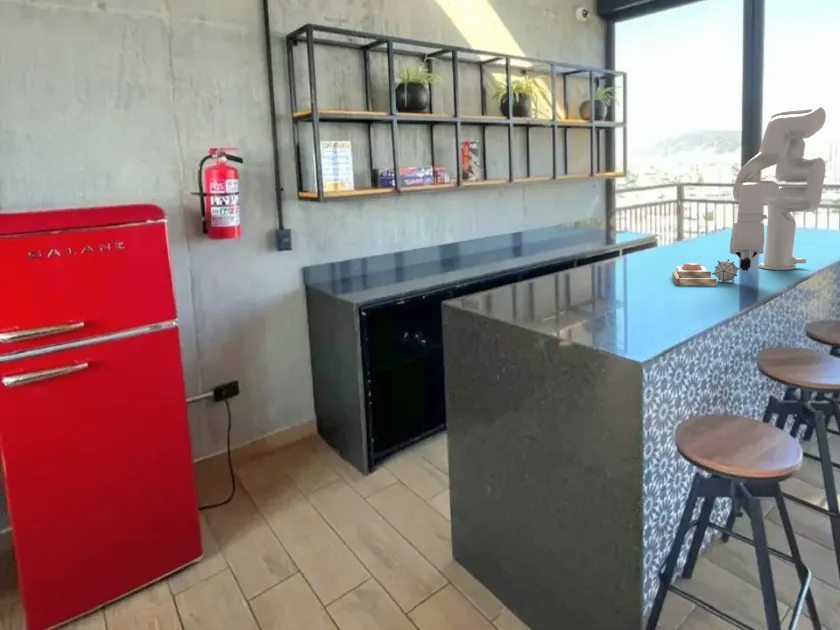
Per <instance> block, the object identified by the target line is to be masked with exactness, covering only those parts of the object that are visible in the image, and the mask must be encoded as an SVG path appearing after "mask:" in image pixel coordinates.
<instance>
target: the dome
mask: <svg viewBox="0 0 840 630" xmlns="http://www.w3.org/2000/svg"><path fill="white" fill-rule="evenodd" d="M682 266H683V270H700V266H701V264H700V263H697V262H684V263H683V265H682Z"/></svg>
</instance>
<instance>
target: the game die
mask: <svg viewBox="0 0 840 630" xmlns="http://www.w3.org/2000/svg"><path fill="white" fill-rule="evenodd" d="M734 263H735V261H732V262H731V261H730V259H727V260H726V261H720V260H717V266H714V268H715V269H714V272H711V276H712V275H714V276H715V277H716V278H717V281H718V280H719V281H721V282H722V284H725V282H728V281H731V282H733V283H734V282H735V280H734V279H735V278H736V277H738V274H737V273H738V271H739V270H740V269H741V268H740V267H737V266H736V265H735V264H734Z"/></svg>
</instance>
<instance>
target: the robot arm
mask: <svg viewBox="0 0 840 630" xmlns="http://www.w3.org/2000/svg"><path fill="white" fill-rule="evenodd" d="M826 115H827V114H826V111H825V109H824V108H823V107H822V106H810V107H809V106H807V107H798V108H797V107H795V108H787V109H781V110H778V111H777V110H776V112H774V113H772V115H771V118H770V120H769V121H768V123H767V126H766V129H765V132H764V134H763V138H762V141H761V144H760V147H759V151H758V153H757V154H756V155H754V156H753V157H752V158H751V159H749V160H748V161H747V162H746V163H744V164H743V166H742V167H741V168H740V170H739V171H738V172H737V176H736V179H735V181H734V185H733V188H732V189H733V190H732V198H733V199H734V200H735V201H737V202H738V205H737V207H738V208H737V218H736V221H735V222H734V223H733V225H732V230H731V236H730V243H729V254H731V255H736V256H737V257H738V258H739V261H740V262H739V268H740V269H741V270H742V271H743V272H744V271H747V272H748V271H749V269H750V268H751V261H752V260H753V258H754V257H755V256H757V255H761V254H764V256H763V262H760V263H759V264H758V267H759V268H761V269H765V270H771V271H772V270H774V271H787V270H788V271H789V270H794V269H796V268H797V265H796V264H806V263H807V258H798V257H795V256H793V255H794V243H795V237H796V235H795V234H796V227H797V224H796V220H795V217H793V215H792V213H812V212H815V211H817V210H818V209H819V207H820V205H821V202H822V196H823V195H822V194H823V188H824V183H825V175H826V163H825V160H824V159H823V158H822V157H820V156H805V155H804V154H805V148H806V143H805V139H809V138H811V137H812V136H814V135H815V134H816V133H818V132H819V131H820V130H822V128H823V126H824V125H825V122H826V119H827V118H826ZM772 166H773V167H774V166H775V173H774V174H775V175H774V177H775V180H776V181H773V180H750V178H751V177H752V176H753V175H755V174H756V173H758V172H760V171H762V170H766V169H767V168H770V167H772ZM777 182H779V183H782V184H783V183H784V184H807V186H796V185H795V186H779V185H778V183H777ZM764 203H766V205H767V214H763V209H764ZM765 219H767V223H766V224H767V225H766V236H765V225H764V222H763V220H765ZM745 252H747V255H746V253H745ZM745 255H746V256H745Z"/></svg>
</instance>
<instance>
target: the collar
mask: <svg viewBox="0 0 840 630" xmlns="http://www.w3.org/2000/svg"><path fill="white" fill-rule="evenodd" d="M675 268H676V269H675V271H708V270H707V268H706V267H705V266H704V265H702V266H701V265H700V270H683V265H681V266H680V265H677V266H675Z"/></svg>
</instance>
